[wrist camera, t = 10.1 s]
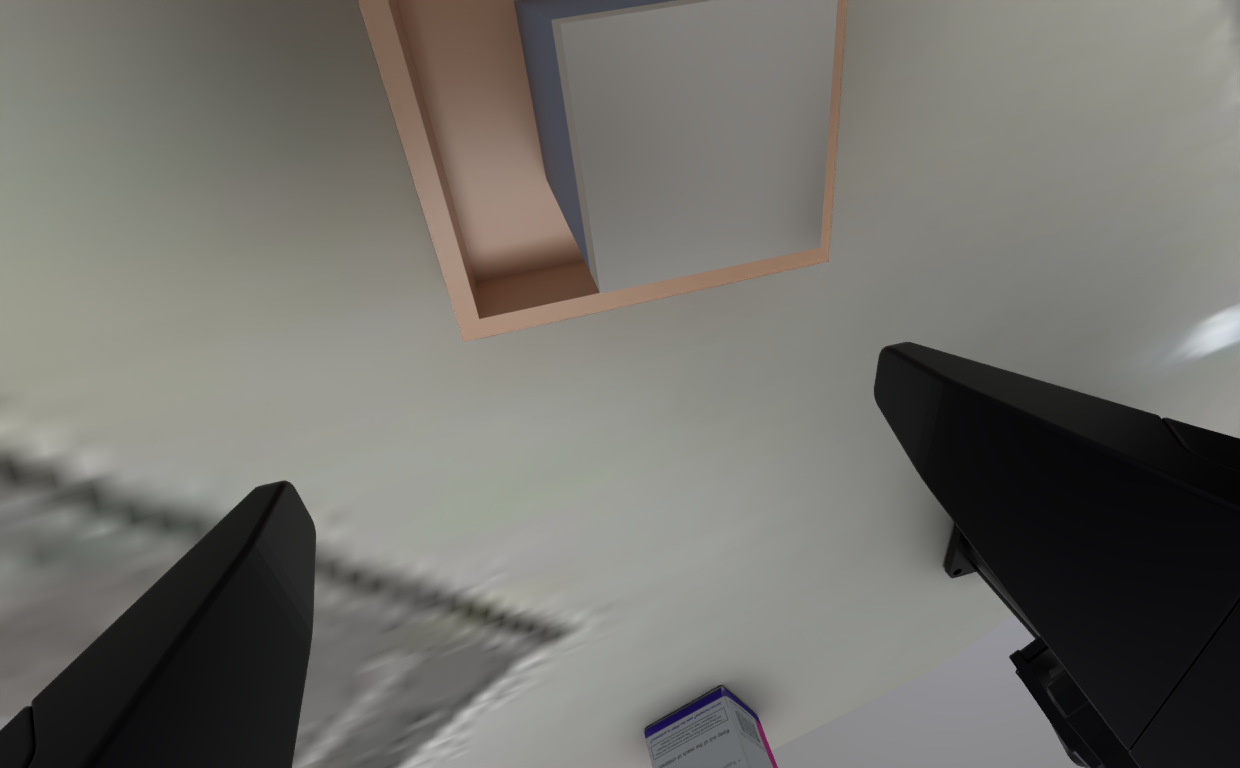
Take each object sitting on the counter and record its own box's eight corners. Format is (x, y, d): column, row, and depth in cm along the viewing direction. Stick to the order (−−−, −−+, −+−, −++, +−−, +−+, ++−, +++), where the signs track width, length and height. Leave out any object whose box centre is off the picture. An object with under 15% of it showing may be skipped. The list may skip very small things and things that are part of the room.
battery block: (692, 151, 19) (820, 247, 13) (546, 178, 18) (600, 294, 12) (683, -25, 16) (838, -20, 10) (513, 0, 16) (560, 24, 9)
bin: (784, 227, 22) (828, 261, 19) (461, 296, 20) (463, 341, 18) (796, -211, 15) (864, -245, 13) (328, -151, 14) (302, -177, 12)
